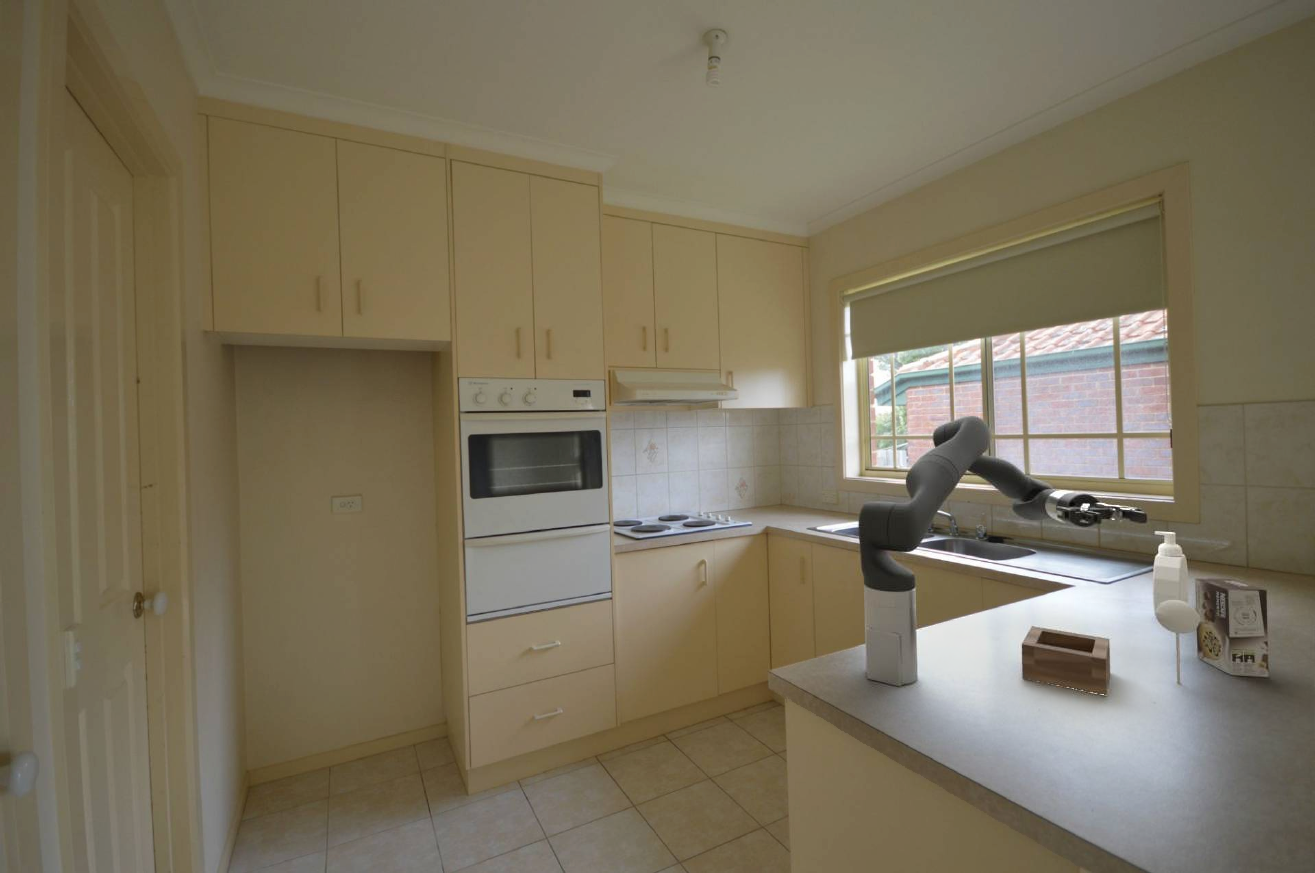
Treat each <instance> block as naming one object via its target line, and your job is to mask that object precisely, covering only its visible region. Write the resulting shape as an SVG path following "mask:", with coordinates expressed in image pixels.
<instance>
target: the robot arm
mask: <svg viewBox="0 0 1315 873" xmlns="http://www.w3.org/2000/svg"><path fill="white" fill-rule="evenodd" d="M991 440H992V435H991V429H990V427H989V425H988V424H987V423H986V422H985V420H984V419H983V418H981V417H979V416H975V415H967V416H963V417H960V418H958V419H955V420H951V421H949V422H947V423H944V424H941V425H939V426H938V427H936V428H935V429H934V431H933V433H932V441H933V445H934V447H933V448H932V449H930V450H929V451H927V452H925V453H924V454H922V456H920V457H919V458H918V459H917V461H916V462H914V464H913V465H912V466H911V467H910V469H909V471H908V472H907V474H906V477H905V486H906V489H907V492H908V495H909V497H910V499H911V500H909V501H908V502H892V501H891V502H888V501H876V500H874V501H867V502H866V503H865V504H863V506H862V508H861V510H860V512H859V517H858V526H857V527H858V541H859V549H860V550H859V554H860V568H861V572H862V576H863V594H864V596H863V598H864V603H863V604H864V606H863V608H864V636H865V637H864V639H865V641H864V642H865V645H864V646H865V674H866V678H867V679H868V680H871V681H876V682H879V683H884V684H888V685H893V686H895V687H902V686H904V685H909V684H912V683H916V681H917V680H918V646H917V644H918V643H917V642H918V641H917V639H918V638H917V636H918V635H917V605H916V604H917V599H916V598H917V596H916V593H917V592H916V576H915V572H913V571H912V570H911V569H910V568H908V567H906V566H904V565H902V564H900V563H899V562H897V561H896V560H894V558H893V557H892V556H891V555H890V554H889V552H897V553H911V552H913V551H915V550H916V549H917V548H918V547H919V546H920V545H921V543H922V542H923V539H924V538H925V537H926V534H927V532H928V530H929V528H930V526H931V524H932V522H933V520H934V518H935V516H936V515H937V513H938V511H939V510H940V509H941V507H942V506H943V504H944V503H945V501H946V500H947V498H948V497H949V496H950V495H951V494H952V492H954V490H955V488H956V487H957V485H958V484H959V483H960V481H961V479H962V478H963V477H964V475H965V474H966V473H967V472H968V473H969V472H970V473H972V474H973V475H975V476H977V477H979V478H981V479H983V480H984V481H986V482H988V484H991V485H992V486H993V487H994V488H995V489H996V490H998V491H999V492H1000V493H1002V494H1003V495H1004V496H1005V497H1007V498H1009V499H1013V501H1011V502H1012V503H1011V509H1012V510H1013V512H1014V514H1015V515H1017V516H1018V517H1020V518H1023V519H1025V520H1028V521H1042V520H1047V519H1053V520H1056V521H1057V522H1060V523H1064V524H1069V525H1071V526H1075V527H1078V528H1090V527H1093V526H1094V525H1101V524H1102V523H1104V522H1110V523H1111V522H1112V523H1121V522H1124V521H1126V522H1131V523H1133V522H1134V523H1138V524H1146V523H1147V522H1148V514H1147V513H1146V512H1144V511H1143V509H1142V508H1140V507H1133V506H1127V505H1122V504H1120V505H1114V504H1113V505H1112V504H1107V503H1102V502H1100V501H1099V499H1098V498H1097V497H1095V496H1094V495H1091V494H1089V493H1083V492H1077V491H1071V490H1059V489H1054V487H1053V486H1051V484H1049V483H1047V482H1045V481H1043V480H1039V479H1037V478H1033V477H1030V476H1029V475H1027V474H1026V473H1024V472H1023V471H1022V470H1021V469H1020V468H1018V466H1016V465H1014V464H1013V462H1010V461H1008V460H1005V459H1002V458H999V457H995V456H991V455H988V454H984V453H986V452H987V451H988V450H989V447H990V445H991ZM1114 515H1115V518H1113V516H1114Z"/></svg>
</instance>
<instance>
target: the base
mask: <svg viewBox="0 0 1315 873" xmlns="http://www.w3.org/2000/svg"><path fill="white" fill-rule="evenodd" d="M1110 643H1111V642H1110V638H1108V637H1107V638H1106V637H1099V636H1095V635H1087V634H1082V633H1076V632H1068V631H1065V630H1057V629H1051V628H1045V627H1038V626H1033V625H1031V627H1030V628H1029V630H1028V631H1027V633H1026V635H1025V638H1024V639H1023V641H1022V642H1021V667H1022V668H1021V671H1022V672H1021V676H1022V678H1024V679H1023V680H1026V679H1029V680H1028V681H1031V680H1033V681H1032V682H1035V681H1039V682H1038V683H1040V682H1043V683H1042V684H1045V683H1049V684H1053V685H1052V686H1054V685H1059V686H1062V687H1061V688H1063V687H1069V688H1074V689H1077V690H1083V691H1086V692H1085V693H1087V692H1093V693H1097V694H1104V695H1107V696H1108V691H1109V690H1108V689H1109V684H1108V683H1110V678H1111V651H1110V650H1111V648H1110ZM1109 677H1110V678H1109ZM1049 684H1048V685H1049ZM1059 686H1058V687H1059ZM1077 690H1076V691H1077ZM1107 690H1108V691H1107Z"/></svg>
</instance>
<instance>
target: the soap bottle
mask: <svg viewBox="0 0 1315 873" xmlns="http://www.w3.org/2000/svg"><path fill="white" fill-rule="evenodd" d="M1154 535H1159V536H1164V537H1163V539H1164V542H1163V543H1160V544H1159V545H1158V553H1157V554H1156V555H1155V557H1154V562H1153V572H1152V573H1153V574H1152V596H1153V597H1152V599H1153V602H1152V603H1153V610H1154V613H1155V610H1156V609H1157V608H1158V606H1159V605H1160V604H1161V603H1163V602H1165V601H1168V600H1179V601H1183V602H1185V603H1188V604H1189V573H1188V572H1189V571H1188V562H1187V557H1186V555H1185V554H1183V549H1182V547H1181V545H1179V544H1178V543H1176V532H1171V531H1158V530H1156V531H1154ZM1154 616H1155V617H1156V615H1155V614H1154Z"/></svg>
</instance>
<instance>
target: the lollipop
mask: <svg viewBox="0 0 1315 873" xmlns="http://www.w3.org/2000/svg"><path fill="white" fill-rule="evenodd" d="M1155 615H1156V616H1155ZM1154 616H1155V618H1156V620H1157V622H1158V623H1159V624H1160V625H1161V627H1162V628H1164V629H1165V630H1167V631H1169V632H1171V633H1175V641H1176V642H1175V647H1176V648H1175V652H1176V655H1175V656H1176V657H1175V658H1176V684H1181V652H1180V648H1181V647H1180V635H1181V634H1182V635H1183V634H1185V635H1186V634H1190V633H1192V632H1194V631H1195V630H1197V627H1198V624H1199V622H1200V616H1199V614H1198V613H1197V612H1196V608H1194V607H1193V606H1192V605H1191V604H1189V602H1188V603H1185V602H1183V601H1179V600H1168V601H1165V602H1163V603H1161V604H1160V605H1159V606H1158V608H1157V609H1156V610H1155V612H1154Z"/></svg>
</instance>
